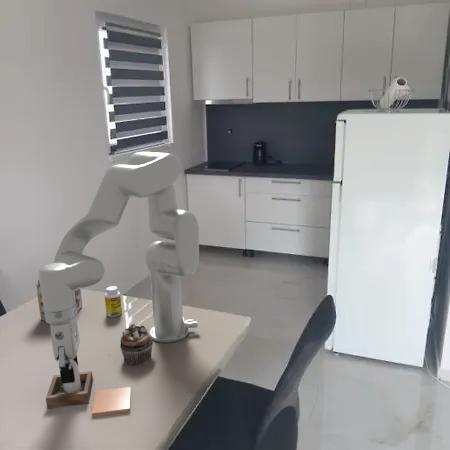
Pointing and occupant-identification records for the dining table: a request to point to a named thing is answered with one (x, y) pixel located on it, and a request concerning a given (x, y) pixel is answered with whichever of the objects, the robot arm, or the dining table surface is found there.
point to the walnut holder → (69, 398)
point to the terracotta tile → (111, 401)
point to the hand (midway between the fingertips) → (70, 374)
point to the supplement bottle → (113, 301)
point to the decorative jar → (40, 301)
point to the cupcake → (136, 345)
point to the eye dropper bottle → (77, 384)
